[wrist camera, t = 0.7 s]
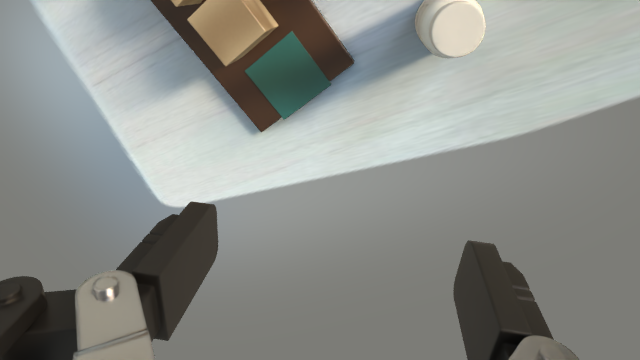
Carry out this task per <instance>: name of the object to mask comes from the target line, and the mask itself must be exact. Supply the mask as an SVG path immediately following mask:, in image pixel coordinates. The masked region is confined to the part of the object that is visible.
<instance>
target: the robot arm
mask: <svg viewBox="0 0 640 360" xmlns="http://www.w3.org/2000/svg"><path fill="white" fill-rule="evenodd" d="M217 251H218V231H217V212H216V207H215V205H213V204H206V203H199V202H190V203H189V204H188V205H187V206H186V207H185V209H184V210H183V211H182V212H181V213H180V215H175V214H172V215H170V216H169V217H167V218H165V219H163V220H162V221H160V222H159V223H157V225H156V226H155V227H154V228H153V229H152V230H151V231H150V234H148V235H147V236H146V237H145V238H144V239H143V240H142V242H140V243H139V245H138V246H137V247H136V248H135V249H134V250H133V251H132V252H131V253H130V255H129V256H128V257H127V258H126V259H125V260H124V261H123V262H122V263H121V265H120V266H119V267H118V268H117V269H116V270H112V271H106V272H102V273H99V274H96V275H94V276H92V277H90V278H88V279H87V280H85V281H84V282H83V283H82V284H81V285H80V286H79V287H78V289H76V290H66V291H55V292H44V290H43V286H42V284H41V282H40V281H39V280H38V279H36V278H33V277H27V276H26V277H25V276H22V277H14V278H9V279H6V280H3V281H0V360H156V359H155V355H154V351H153V347H152V341H153V339H160V340H166V341H168V340H169V338H170V337H171V335H172V333H173V332H174V330H175V328H176V326H177V324H178V323H179V321H180V320H181V318H182V316H183V315H184V313H185V311H186V309H187V308H188V306H189V304H190V303H191V301H192V299H193V297H194V296H195V294H196V292H197V291H198V289H199V287H200V285H201V284H202V282H203V280H204V278H205V277H206V275H207V273H208V272H209V270H210V268H211V266H212V265H213V263H214V261H215V258H216V255H217ZM534 300H535V299H534V297H533V295H532V293H531V291H529V286H528V284H527V282H526V280H525V278H524V276H523V274H522V273H521V272H520V271H519V270H517V269H516V267H514V266H513V265H512V264H511V263H509V262H502V260H501V258H500V256H499V253H498V251H497V248H496V246H495V245H494V244H491V243H483V242H476V241H467V243H466V245H465V247H464V251H463V254H462V257H461V261H460V264H459V268H458V271H457V274H456V277H455V282H454V301H455V306H456V309H457V314H458V319H459V323H460V328H461V332H462V337H463V341H464V345H465V350H466V354H467V359H468V360H579V358H578V357H577V356H576V355H575V354H574V353H573V352H572V351H571V350H570V349H568V348H567V347H566V346H564V345H562V344H561V343H559V342H557V341H555V340H554V339H553V337H552V335H551V333H550V331H549V328H548V326H547V324H546V322H545V320H544V318H543V316H542V314H541V311H540V309H539V307H538V305H537V303H536V302H535V301H534Z"/></svg>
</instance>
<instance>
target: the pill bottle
mask: <svg viewBox="0 0 640 360" xmlns="http://www.w3.org/2000/svg"><path fill="white" fill-rule="evenodd" d="M485 25H486V24H485V19H484V14H483V11H482V9H481V7H480V5H479V4H478V2H477V1H476V0H424V2H423V3H422V4H421V6H420V7H419V9H418V11H417V14H416V18H415V28H416V32H417V35H418V36H419V38H420V40H421V41H422V43H423V44H424V45H425V47H426V48H427V49H428V50H429V51H430V52H431V53H433V54H434V55H436V56H439V57H442V58H455V57H462V56H465V55H467V54H469V53H471V52H472V51H473V50H475V49H476V48H477V47H478V45H479V44H480V43H481V41H482V39H483V37H484V34H485Z"/></svg>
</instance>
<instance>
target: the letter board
mask: <svg viewBox="0 0 640 360" xmlns="http://www.w3.org/2000/svg"><path fill="white" fill-rule="evenodd" d="M151 1H152V2H153V4H154V5H155V6H156V7H157V8H158V10H159V11H160V12H161V13H162V14H163V16H164V17H165V18H166V19H167V20H168V22H169V23H170V24H171V25H172V26H173V27H174V29H175V30H176V31H177V32H178V33H179V35H180V36H181V37H182V38H183V39H184V41H185V42H186V43H187V44H188V45H189V47H190V48H191V49H192V50H193V51H194V53H195V54H196V55H197V56H198V57H199V58H200V60H201V61H202V62H203V63H204V64H205V66H206V67H207V68H208V69H209V70H210V72H211V73H212V74H213V75H214V76H215V78H216V79H217V80H218V81H219V82H220V84H221V85H222V86H223V87H224V88H225V90H226V91H227V92H228V93H229V94H230V95H231V97H232V98H233V99H234V100H235V101H236V103H237V104H238V105H239V106H240V107H241V109H242V110H243V111H244V112H245V113H246V115H247V116H248V117H249V118H250V119H251V121H252V122H253V123H254V124H255V125H256V126H257V128H258V129H259V130H260V131H261V132H263V131H264V130H265V129H267V128H268V127H269V126H271V125H272V124H273V123H275V122H276V121H277V120H279V119H280V118H281V117H282V118H283V119H286V118H287V117H288V116H290V115H291V114H292V113H294V112H295V111H297V110H298V109H299V108H301V107H302V106H303V105H305V104H306V103H307V102H309V101H310V100H311V99H313V98H314V97H315V96H317V95H318V94H319V93H321V92H322V91H323V90H325V89H326V88H327V87H329V86H330V85H331V83H330V82H329V81H331V80H332V79H333V78H335V77H336V76H337V75H339V74H340V73H341V72H343V71H344V70H345V69H347V68H348V67H349V66H351V65H352V64H353V63H354V60H353V58H352V57H351V55H350V54H349V53H348V51H347V50H346V48H345V47H344V46H343V44H342V43H341V41H340V40H339V39H338V37H337V36H336V34H335V33H334V31H333V30H332V29H331V27H330V26H329V24H328V23H327V22H326V20H325V19H324V17H323V16H322V15H321V13H320V12H319V10H318V9H317V8H316V6H315V5H314V3H313V2H312V1H311V0H151Z"/></svg>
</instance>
